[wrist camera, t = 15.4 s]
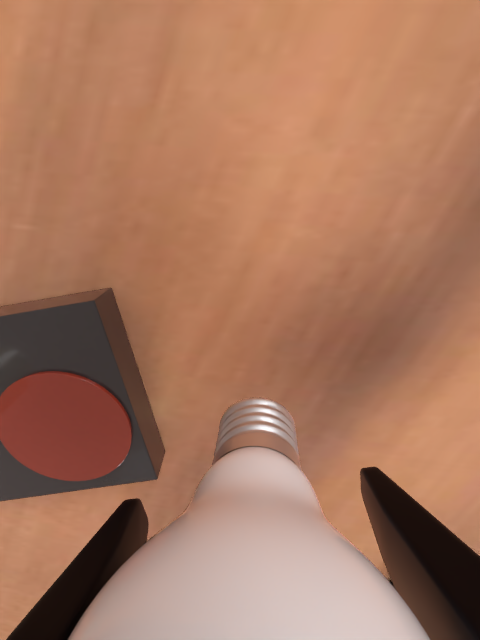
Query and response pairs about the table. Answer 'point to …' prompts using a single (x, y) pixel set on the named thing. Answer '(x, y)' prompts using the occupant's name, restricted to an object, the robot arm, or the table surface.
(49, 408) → the burner zone
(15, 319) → the hob
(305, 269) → the table surface
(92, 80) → the table surface
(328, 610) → the lightbulb
